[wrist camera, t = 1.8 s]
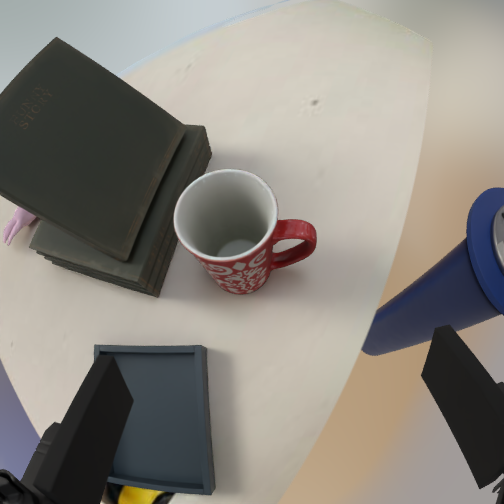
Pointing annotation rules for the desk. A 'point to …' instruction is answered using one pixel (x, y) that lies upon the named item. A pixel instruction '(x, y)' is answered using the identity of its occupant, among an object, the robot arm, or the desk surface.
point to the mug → (238, 229)
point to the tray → (164, 419)
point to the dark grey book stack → (96, 168)
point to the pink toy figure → (17, 223)
